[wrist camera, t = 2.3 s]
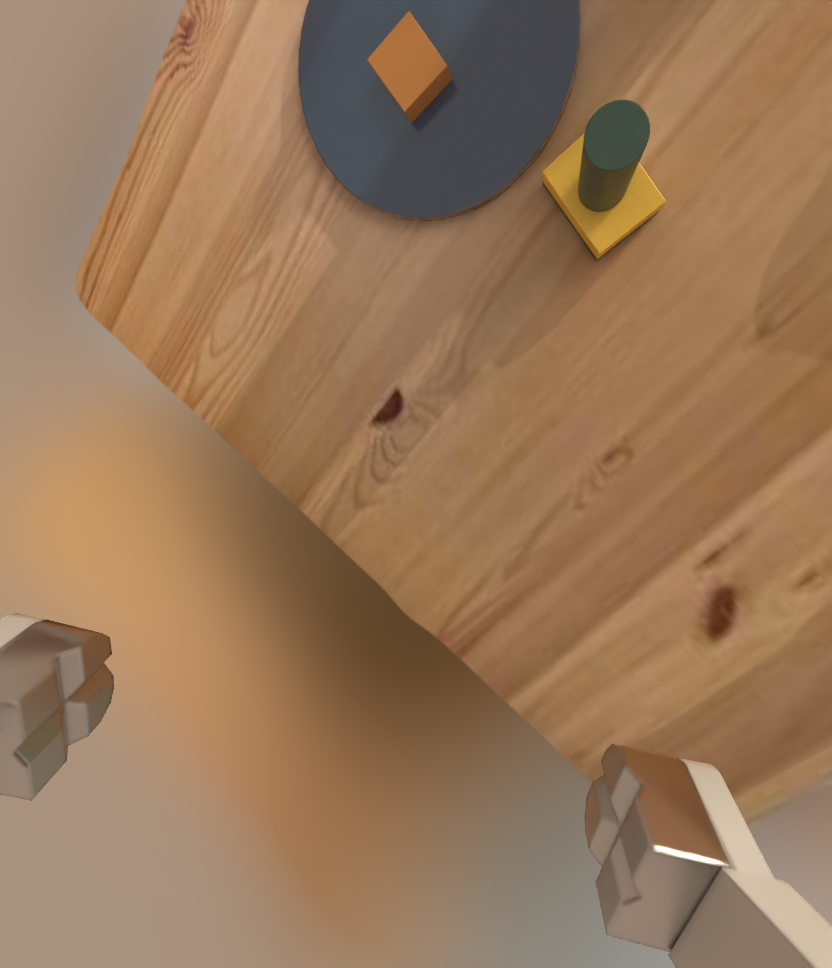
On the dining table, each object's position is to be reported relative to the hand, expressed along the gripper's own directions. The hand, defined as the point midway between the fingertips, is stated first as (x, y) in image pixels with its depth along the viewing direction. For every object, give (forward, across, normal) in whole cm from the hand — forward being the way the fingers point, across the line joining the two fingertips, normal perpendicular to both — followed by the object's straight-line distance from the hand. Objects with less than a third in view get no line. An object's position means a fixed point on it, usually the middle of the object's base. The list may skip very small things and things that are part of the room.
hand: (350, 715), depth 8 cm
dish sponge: (+37, -8, -14) cm, 41 cm away
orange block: (+39, +7, -20) cm, 45 cm away
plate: (+40, +6, -22) cm, 46 cm away
